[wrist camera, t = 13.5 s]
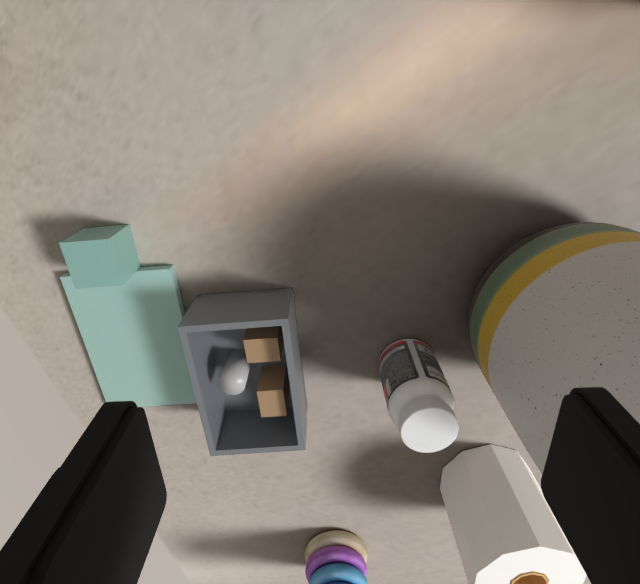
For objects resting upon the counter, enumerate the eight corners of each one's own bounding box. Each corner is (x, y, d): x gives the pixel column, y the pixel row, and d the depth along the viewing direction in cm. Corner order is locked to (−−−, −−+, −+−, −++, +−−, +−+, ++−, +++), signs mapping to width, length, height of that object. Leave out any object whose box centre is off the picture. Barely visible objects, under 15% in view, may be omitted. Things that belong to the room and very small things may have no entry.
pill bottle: (378, 386, 44) (393, 460, 35) (376, 339, 42) (391, 405, 33) (434, 381, 44) (463, 455, 35) (435, 334, 42) (466, 400, 33)
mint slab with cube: (50, 230, 37) (21, 245, 34) (163, 221, 37) (146, 236, 33) (112, 402, 46) (94, 429, 42) (205, 396, 45) (195, 423, 42)
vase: (545, 397, 45) (756, 682, 23) (418, 321, 41) (527, 577, 19) (679, 271, 39) (1133, 496, 17) (545, 169, 35) (910, 292, 13)
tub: (196, 295, 40) (177, 326, 35) (292, 287, 40) (288, 318, 34) (223, 412, 46) (210, 455, 40) (307, 407, 46) (305, 449, 40)
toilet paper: (432, 505, 52) (462, 616, 41) (449, 440, 48) (488, 545, 37) (514, 510, 52) (565, 620, 41) (539, 446, 48) (604, 551, 37)
